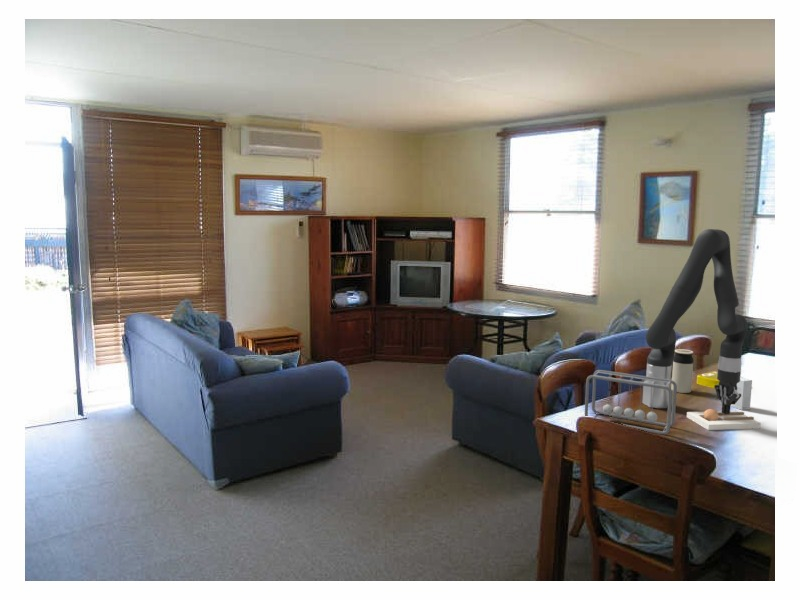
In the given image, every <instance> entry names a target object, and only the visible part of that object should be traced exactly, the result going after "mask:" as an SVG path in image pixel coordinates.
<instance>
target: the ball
mask: <svg viewBox="0 0 800 600" xmlns="http://www.w3.org/2000/svg"><path fill="white" fill-rule="evenodd" d="M716 411H717V410H715V409H713V408H708V409H706V410H705V411H703V412H704V419H706V420H707V421H717V420H718V413H717V412H716Z"/></svg>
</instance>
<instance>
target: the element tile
mask: <svg viewBox="0 0 800 600" xmlns="http://www.w3.org/2000/svg"><path fill="white" fill-rule="evenodd" d="M717 373H718V371H716V370H713V371H708V372H705V373H701V374H697V376H696V385H700V386H704V387H708V388H710V389H711V388H712V389H715V387H714V386H715V385H718V384H719V380H718V379H717Z"/></svg>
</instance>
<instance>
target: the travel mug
mask: <svg viewBox="0 0 800 600" xmlns="http://www.w3.org/2000/svg"><path fill="white" fill-rule="evenodd" d="M693 353H694V351H692V350H690V349H683V348H679V349H676V348H675V354H674V358H673V360H672V370H671V380H673V381H674V382H675V383H676V385H677V393H678V394H689V393H691V392H692V383H693V371H694V369H693V368H694V358H693ZM673 388H674V386H673V384H672V383H671V384H670V389H671V390H672V391H673Z"/></svg>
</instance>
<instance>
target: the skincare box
mask: <svg viewBox="0 0 800 600" xmlns="http://www.w3.org/2000/svg"><path fill="white" fill-rule="evenodd" d="M752 385H753V380H752V379H749V378H746V377H742V376H740V382H739V383H737V392H738V394H741V397H740V398H739V400H738V401H737V402H736V403H735V404H731V406H730V407H732V408H735V409H739V410H741V411H744V410H745V411H746V410H750V409H751V398H752V388H753V386H752Z"/></svg>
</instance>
